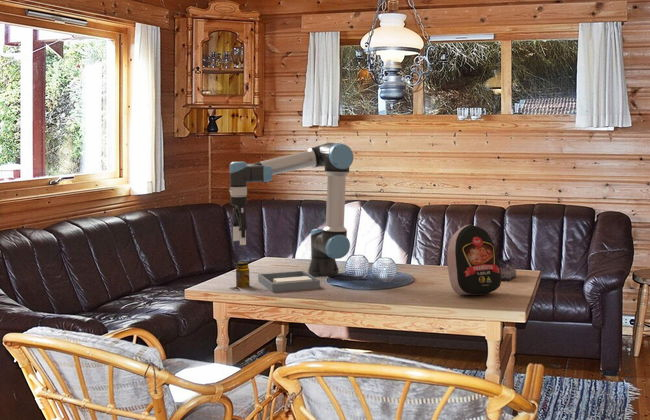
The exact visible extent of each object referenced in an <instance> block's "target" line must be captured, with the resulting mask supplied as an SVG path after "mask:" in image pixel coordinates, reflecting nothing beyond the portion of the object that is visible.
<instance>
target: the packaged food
mask: <svg viewBox="0 0 650 420" xmlns="http://www.w3.org/2000/svg"><path fill="white" fill-rule="evenodd" d="M446 255H447V257H446V258H447V261H446V262H447V270H448V271H447V272H448V277H449V283H450V287H451V288H452V290H453V292H454V293H455V294H456V295H459V296H472V295H473V296H475V295H477V296H478V295H480V296H481V295H487V294H489V293H493V292H495V291H496V290H498V289H499V288H500V286H501V284H502V280H501V271H500V264H499V261H500V259H499V257H498V253H497V250H496V247H495V244H494V241H493V240H492V238H491V236H490V234H489V233H488V232H487V231H486V230H485V229H483V228H482V227H481V226H480V227H479V226H478V225H474V224H473V225H472V224H465V225H463V226H462V227H460V228H459V229H458V230H457V231H456V232H455V233H454V234H453V235H452V237H451V238H450V239H449V243H448V247H447V254H446Z"/></svg>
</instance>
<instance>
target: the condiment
mask: <svg viewBox="0 0 650 420" xmlns="http://www.w3.org/2000/svg"><path fill="white" fill-rule="evenodd" d="M235 283H236V285H235V286H232V287H231V286H230V289H231V290H233V291H236V292H237V291H241V288H249V287H250V285H251V284H250V283H251V282H250V268H249V262H248V261H238V262H236V269H235Z"/></svg>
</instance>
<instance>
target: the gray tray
mask: <svg viewBox="0 0 650 420" xmlns="http://www.w3.org/2000/svg"><path fill="white" fill-rule="evenodd" d="M302 276H308V277H309V278H311V279H312V281H302V282H290V283H277V284H274V283H273V279H275V278H288V277H302ZM257 278H258V279H257V280H258V281H257V282H258V283H259V284H261V285H262V286H263V287H265V288H266V289H267V290H269V291H270V292H271V293H279V292H291V291H292V292H294V291H304V290H305V291H306V290H317V289H320V288H321V280H320V279H318V278H317V277H313V276H311V275H310V274H308V272H306V271H304V270H298V271H297V270H295V271H283V272H282V271H281V272H269V273H268V272H267V273H258V274H257Z"/></svg>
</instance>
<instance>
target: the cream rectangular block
mask: <svg viewBox="0 0 650 420" xmlns="http://www.w3.org/2000/svg"><path fill="white" fill-rule="evenodd" d="M302 281H312V279H311V278H309V277H308V276H302V277H288V278H275V279H273V283H274V284H277V283H290V282H302Z"/></svg>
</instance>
